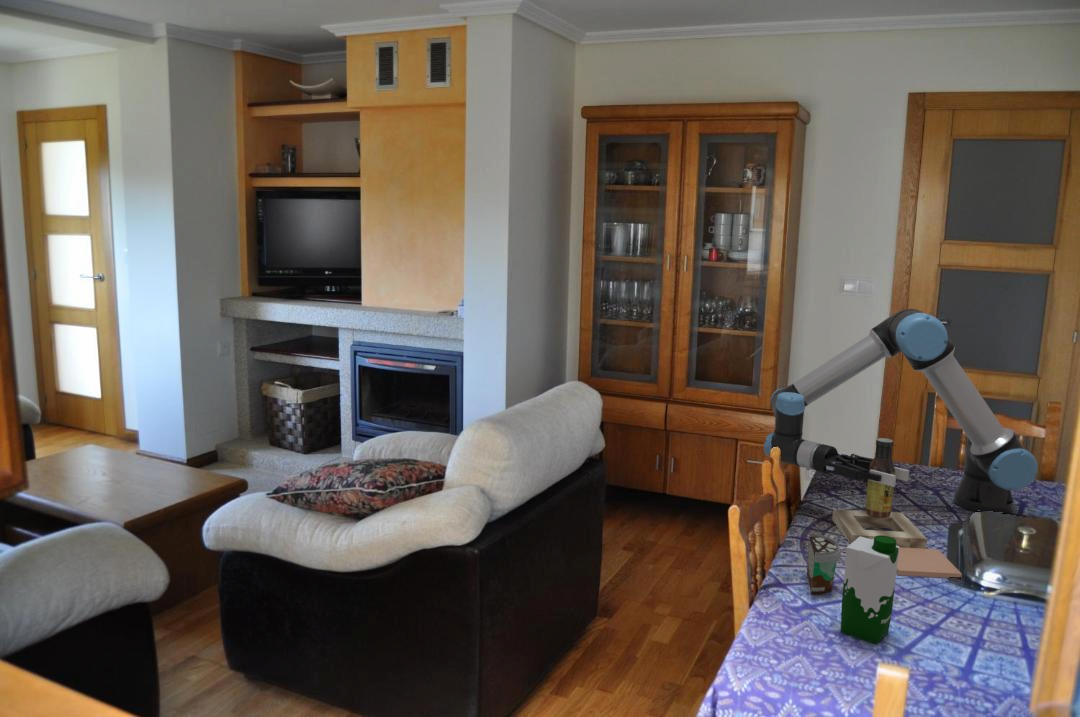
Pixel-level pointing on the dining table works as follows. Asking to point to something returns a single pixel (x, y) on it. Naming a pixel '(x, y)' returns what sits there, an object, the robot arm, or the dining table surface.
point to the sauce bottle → (880, 493)
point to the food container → (821, 563)
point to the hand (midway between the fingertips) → (901, 478)
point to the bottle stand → (900, 526)
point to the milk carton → (869, 587)
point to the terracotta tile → (925, 563)
